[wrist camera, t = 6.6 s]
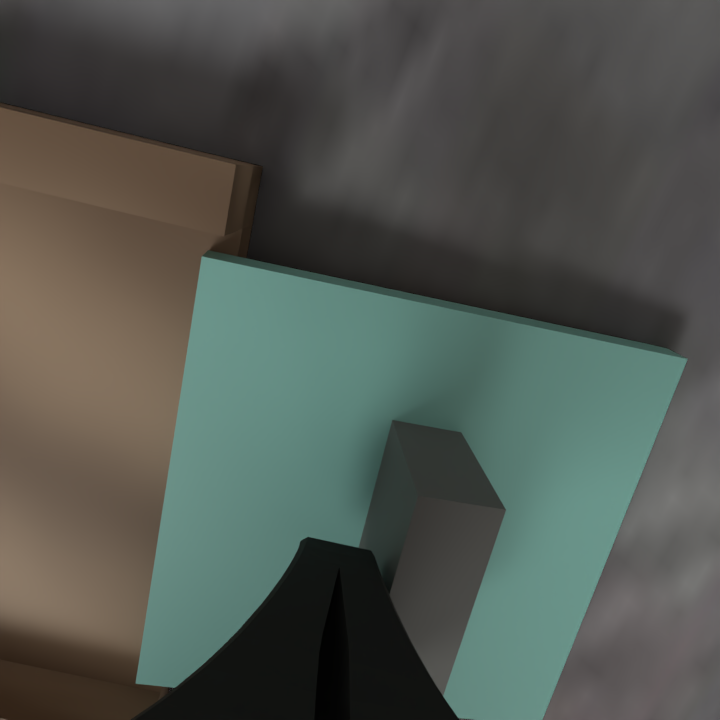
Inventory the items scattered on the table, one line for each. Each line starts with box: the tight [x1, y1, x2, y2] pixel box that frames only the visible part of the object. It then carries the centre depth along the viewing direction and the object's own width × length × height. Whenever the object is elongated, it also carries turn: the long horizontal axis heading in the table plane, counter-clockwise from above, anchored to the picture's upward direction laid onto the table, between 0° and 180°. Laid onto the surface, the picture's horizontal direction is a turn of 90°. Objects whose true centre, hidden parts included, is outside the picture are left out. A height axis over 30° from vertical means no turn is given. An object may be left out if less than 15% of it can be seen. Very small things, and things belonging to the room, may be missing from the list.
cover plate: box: [136, 250, 688, 720], centre depth 12 cm, size 10×10×4 cm
